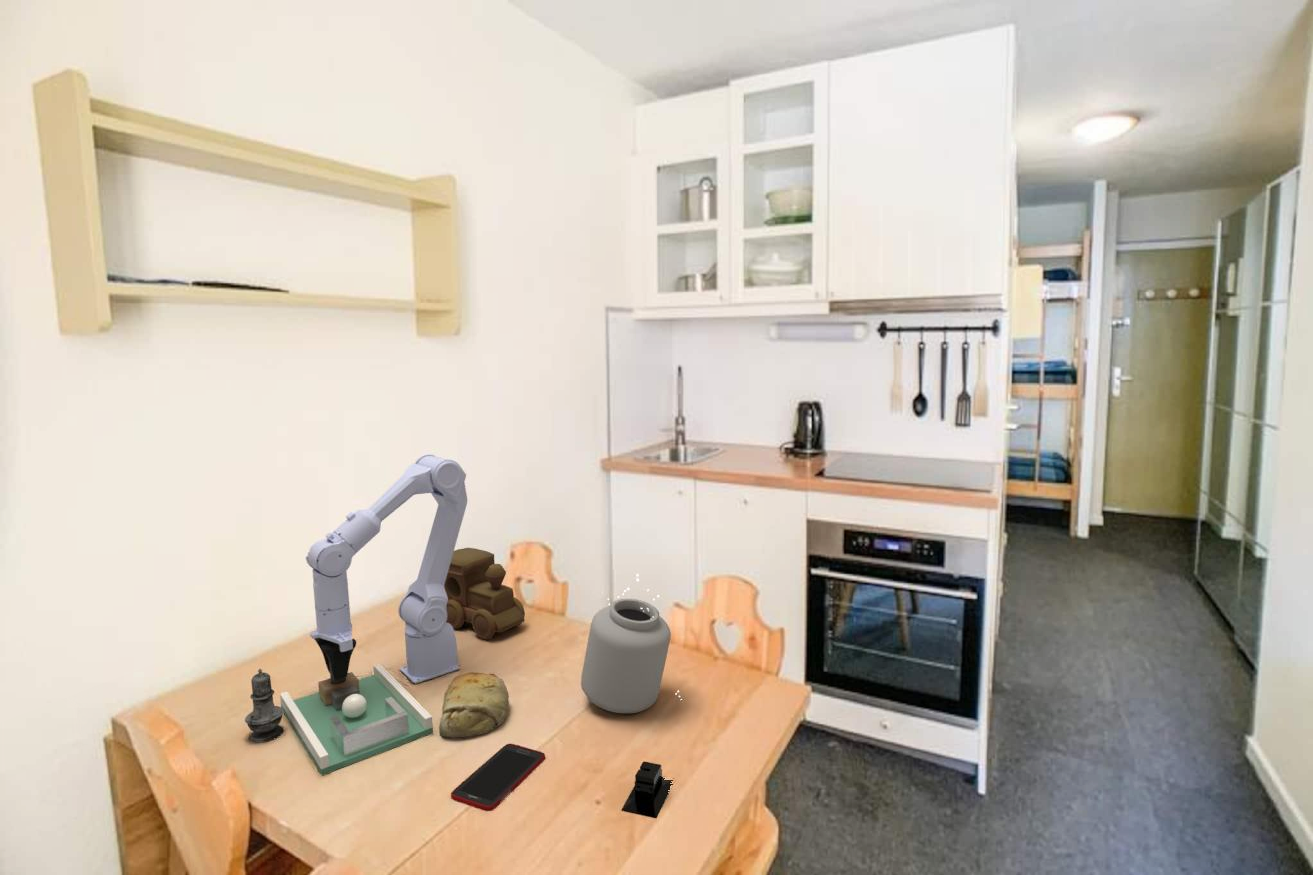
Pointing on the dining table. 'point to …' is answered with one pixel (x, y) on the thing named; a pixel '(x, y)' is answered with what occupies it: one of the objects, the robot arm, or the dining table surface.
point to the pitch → (353, 720)
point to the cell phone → (497, 777)
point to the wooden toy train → (480, 594)
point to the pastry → (473, 705)
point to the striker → (338, 689)
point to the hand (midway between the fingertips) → (337, 674)
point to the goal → (370, 730)
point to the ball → (354, 705)
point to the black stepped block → (648, 791)
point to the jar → (625, 656)
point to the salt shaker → (263, 711)
